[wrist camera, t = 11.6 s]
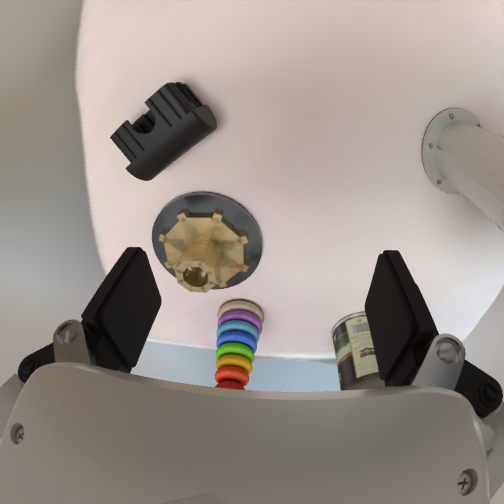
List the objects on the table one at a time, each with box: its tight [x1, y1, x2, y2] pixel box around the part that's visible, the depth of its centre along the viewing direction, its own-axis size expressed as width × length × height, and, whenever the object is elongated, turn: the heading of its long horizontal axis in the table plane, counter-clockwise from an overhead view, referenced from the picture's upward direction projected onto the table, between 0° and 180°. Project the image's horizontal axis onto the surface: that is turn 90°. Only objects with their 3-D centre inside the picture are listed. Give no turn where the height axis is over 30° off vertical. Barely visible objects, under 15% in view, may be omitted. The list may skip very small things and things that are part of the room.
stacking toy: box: [215, 301, 264, 390], centre depth 40 cm, size 8×8×19 cm
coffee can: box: [332, 312, 395, 391], centre depth 44 cm, size 10×10×14 cm
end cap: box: [110, 82, 217, 181], centre depth 27 cm, size 10×7×7 cm
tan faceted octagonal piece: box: [159, 208, 250, 293], centre depth 36 cm, size 12×12×6 cm
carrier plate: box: [152, 192, 262, 289], centre depth 38 cm, size 16×16×4 cm
